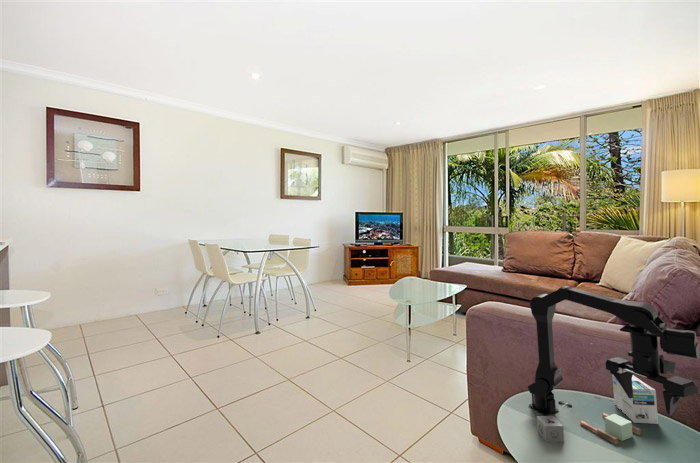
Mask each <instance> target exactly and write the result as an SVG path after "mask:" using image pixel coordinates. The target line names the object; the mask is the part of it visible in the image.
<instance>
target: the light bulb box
mask: <svg viewBox="0 0 700 463" xmlns="http://www.w3.org/2000/svg"><path fill="white" fill-rule="evenodd" d="M611 376H612V388H613V389H612V390H613V402H614V403H615V405H617V406H618V407H617V406H616V407H617V409H619V410H620V409H621V410H622V411H621V410H620V411H621V412H622V413H623V414H624V415H625V414H626V416H627V417H628V418H629V419H630V421H631V422H633V423H636V424H652V425H653V424H654V425H658V424H659V415H658V405H657V391H656V389H655V388H654V387H652V386H650V385H648V384H647V383H645V382H644V381H642V380H641V379H640V378H638V377H637V376H635V374H633V376H632V387H633V398H629V397H628V396H627V394H626V393H625V391H624V389H623V388H622V386H621V385H620V383H619V382H618V381H617V379H616V378H615V377H614V375H613V374H611ZM614 403H613V404H614ZM615 405H614V406H615Z"/></svg>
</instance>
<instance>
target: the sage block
mask: <svg viewBox="0 0 700 463" xmlns="http://www.w3.org/2000/svg"><path fill="white" fill-rule="evenodd" d="M632 422H633V421H632V420H628V419H626V418H624V417H623V416H620V415H619V414H616V413H612V414H610V415H609V416H607V417H605V418H604V428H605V430H604V431H605V432H607V433H609V434H611V435H612V436H614V437H616V438H617V439H618V440H619V441H625V440H628V439H630V438H633V436H634V435H633V432H632V425H633V424H632Z"/></svg>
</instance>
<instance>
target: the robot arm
mask: <svg viewBox="0 0 700 463" xmlns="http://www.w3.org/2000/svg"><path fill="white" fill-rule="evenodd" d="M563 301H569V302H573V303H574V304H579V305H582V306H585V307H587V308H591V309H595V310H598V311H601V312H605V313H609V314H610V315H612V316H615V317H616V318H618V319H619V320H621V321H623V322H625V325H623V326H622V327H620V328H619V331H620V332H624V333H629V340H630V343H629V344H630V351H627V356H629V357H631V361H630V360H628V359H625V358H623V357H621V356H617V357H616V356H615V357H612V358H608V359H606V360H605V362H604V368H605V370H607V371H609V373H610V374H611V375H612V374H613V375H614V377H615V378H616V379H617V381H618V382H619V383H620V385H621V386H622V388H623V389H624V391H625V393H626V394H627V396H628V397H629V398H633V387H632V376H633V375H636V376H639V377H641V378H644V379H647V380H651V381H653V382H656V383H660V384H662V388H663V389H664V390H663V391H662V396H663V401H664V406H665V410H666V411H665V412H666V413H667V415H669V416H671V415H673V414H674V411H675V410H676V407H677V405H678V403H679V401H680V399H682V398H686V397H689V396H692V395H695V394H698V392H699V390H698V385H697V384H696V383H695V382H694V381H693V380H690V379H687V378H684V377H681V376H678V375H675V376H672V377H665V375H666V374H668V373H671V374H675V370H676V366H677V362H676V361H673V360H670V359H666V358H664V354H663V353H660V350H662V351H663V352H664V353H666V354H667V355H669V356H670V355H671V356H676V357H680V358H687V359H692V360H699V358H700V342H698V337H697V333H696V331H695V330H684V329H683V330H682V329H675V328H669V325H668V324H667V322H665V321H664V320H663V319H662V318H661V317H660V316H659V315H658V311H657V310H656V308H655V307H654V306H653V305H652V304H649V303H647V302H642V301H635V300H625V299H624V300H622V299H615V298H611V297H608V296H604V295H600V294H597V293H593V292H589V291H586V290H582V289H579V288H576V287H572V286H571V285H564V286H561V287H559V288H557V290H554V291H553V292H550V293H542V294H539V295H537V296H535V297H532V298H531V299H530V300H529V306H530V307H529V308H530V311H531V314H532V318H534V320H535V325H536V336H537V340H536V341H537V353H538V364H537V367H536V369H535V375H534V381H533V382H532V383H531V384H529V385H528V386H527V388H528V391H529V393H530V394H531V403H529V404H528V407H530V408H531V409H533V410H535V411H536V412H538V413H540V414H541V415H542V416H549V415H551V414H554V413H557V412H559V409H558V408H557V407H556V399H555V393H554V392H553V391H554V390H555V389H556V388H557V387H558V386H560V385H561V384H562V383H561V382H562V381H563V380H564V378H563V376H562V372H563V368H561V367H557V365H556V362H555V352H554V351H555V350H554V337H553V336H554V334H553V332H554V331H553V319H554V316H555V313H556V306H557V304H559V303H561V302H563ZM658 338H659V339H658ZM659 347H660V349H659Z"/></svg>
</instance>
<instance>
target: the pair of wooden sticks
mask: <svg viewBox="0 0 700 463" xmlns="http://www.w3.org/2000/svg"><path fill="white" fill-rule="evenodd" d="M607 416H610V415H609V414H607V413H605V412H604V413H602V418H603V419H605V417H607ZM579 423H580V425H581V426H582V427H583V428H585V429H587V430H589V431H591V432H593V433H594V434H596V435H598V436H599V437H602V438H603V439H605V440H607V441H609V443H610V442H611V443H612V444H614V445H617V444H619V443H618V442H619V441H618V440H619V439H618V438H616V437H614V436H612V435H611V434H609V433H607V432H605V430H603V429H602V428H596V427H595V426H592V425H591V424H589V423H588V422H585V421H584V420H581V421H579ZM632 433H633V434H636V435H638V436H640V435H642V429H641V428H639V427H637V426H635V425H633V424H632Z"/></svg>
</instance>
